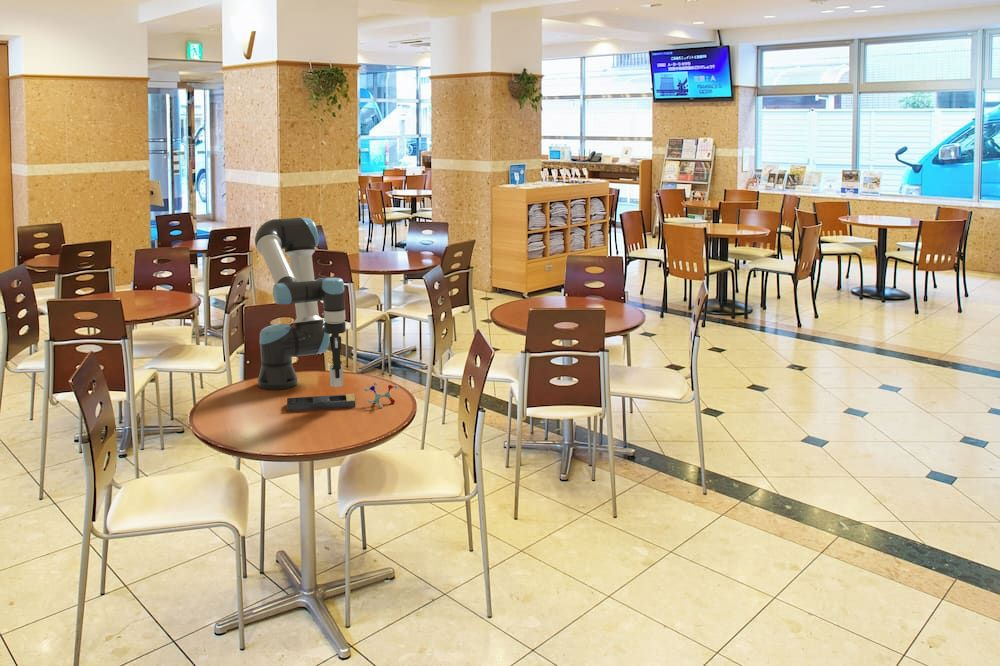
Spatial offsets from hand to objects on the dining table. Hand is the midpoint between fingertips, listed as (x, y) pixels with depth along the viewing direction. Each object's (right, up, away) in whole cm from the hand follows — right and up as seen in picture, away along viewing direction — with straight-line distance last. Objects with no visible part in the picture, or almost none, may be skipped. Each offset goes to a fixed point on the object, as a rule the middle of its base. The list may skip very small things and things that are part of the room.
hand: (337, 383), depth 319 cm
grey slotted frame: (-6, -8, +1) cm, 10 cm away
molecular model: (+15, -8, +3) cm, 17 cm away
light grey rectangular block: (0, 0, 0) cm, 0 cm away
